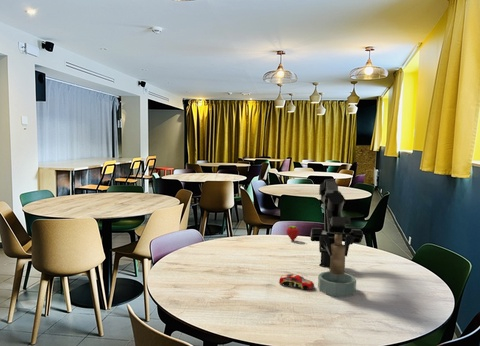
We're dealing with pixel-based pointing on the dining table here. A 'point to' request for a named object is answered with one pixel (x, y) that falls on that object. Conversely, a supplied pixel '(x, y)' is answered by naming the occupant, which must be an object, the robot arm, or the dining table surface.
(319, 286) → the bowl
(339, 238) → the walnut bottle
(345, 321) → the dining table surface
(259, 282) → the dining table surface
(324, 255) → the robot arm
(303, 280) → the race car
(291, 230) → the strawberry
